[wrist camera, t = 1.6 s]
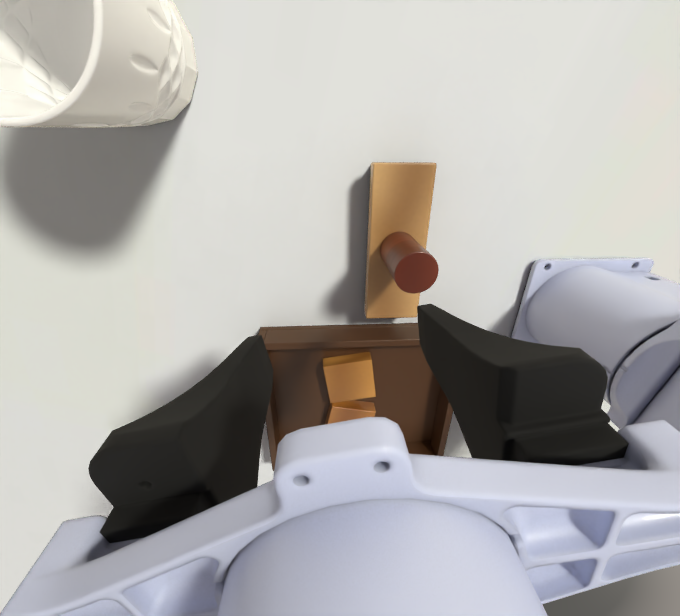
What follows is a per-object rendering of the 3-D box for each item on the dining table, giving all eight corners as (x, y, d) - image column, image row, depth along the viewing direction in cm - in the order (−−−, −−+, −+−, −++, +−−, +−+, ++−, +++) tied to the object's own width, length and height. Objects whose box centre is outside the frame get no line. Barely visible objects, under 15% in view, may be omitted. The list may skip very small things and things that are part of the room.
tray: (457, 321, 26) (469, 337, 24) (433, 441, 33) (442, 462, 31) (260, 326, 25) (254, 344, 23) (275, 448, 32) (272, 471, 30)
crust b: (374, 402, 29) (376, 412, 28) (363, 432, 31) (365, 443, 30) (331, 397, 29) (332, 406, 28) (323, 428, 30) (323, 438, 29)
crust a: (369, 351, 27) (371, 359, 25) (373, 387, 28) (376, 397, 27) (322, 358, 27) (322, 366, 26) (329, 394, 28) (330, 403, 27)
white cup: (188, 160, 20) (81, 172, 11) (46, 91, 18) (-225, 36, 9) (227, 14, 17) (125, -135, 8) (62, -89, 15) (-324, -442, 6)
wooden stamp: (426, 161, 21) (469, 167, 15) (409, 304, 25) (437, 352, 19) (368, 161, 20) (388, 167, 14) (362, 305, 25) (375, 354, 19)
